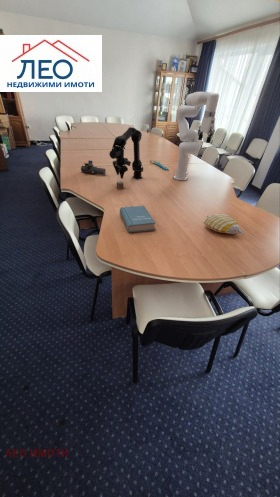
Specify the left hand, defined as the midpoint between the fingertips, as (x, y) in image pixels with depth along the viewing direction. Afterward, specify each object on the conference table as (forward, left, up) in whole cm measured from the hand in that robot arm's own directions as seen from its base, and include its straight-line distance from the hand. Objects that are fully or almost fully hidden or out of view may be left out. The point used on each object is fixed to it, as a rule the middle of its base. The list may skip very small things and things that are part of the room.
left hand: (119, 176), depth 175 cm
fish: (-24, +86, -9) cm, 90 cm away
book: (+18, +53, -9) cm, 57 cm away
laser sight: (+5, -41, -9) cm, 43 cm away
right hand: (-55, +30, +29) cm, 68 cm away
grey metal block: (0, 0, -9) cm, 9 cm away
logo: (-72, -39, -9) cm, 82 cm away
